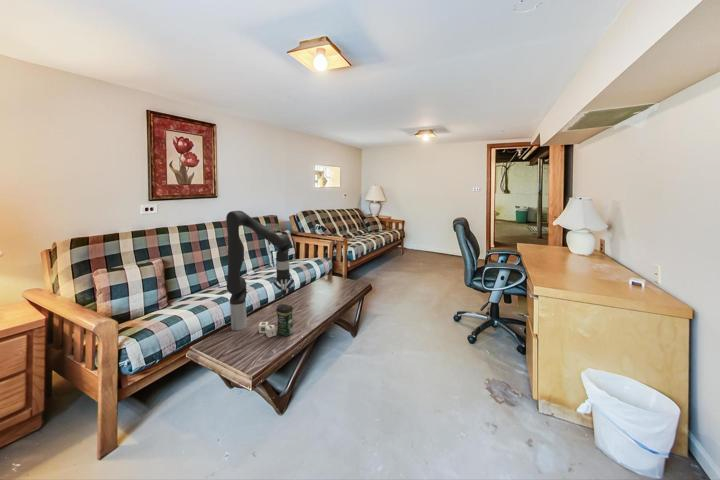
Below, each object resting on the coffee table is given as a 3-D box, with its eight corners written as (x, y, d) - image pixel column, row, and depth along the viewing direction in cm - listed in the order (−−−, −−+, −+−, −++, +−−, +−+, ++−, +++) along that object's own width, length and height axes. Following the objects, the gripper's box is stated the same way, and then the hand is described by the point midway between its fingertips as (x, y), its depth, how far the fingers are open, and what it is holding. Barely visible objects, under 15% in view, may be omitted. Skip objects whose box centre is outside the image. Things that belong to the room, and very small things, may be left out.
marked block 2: (268, 338, 174) (268, 330, 173) (265, 334, 179) (265, 326, 179) (277, 336, 177) (276, 328, 176) (273, 332, 182) (273, 324, 181)
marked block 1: (259, 333, 180) (258, 325, 179) (260, 329, 185) (260, 321, 184) (267, 332, 181) (266, 325, 180) (268, 329, 186) (268, 321, 185)
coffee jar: (275, 334, 180) (273, 305, 176) (283, 328, 186) (282, 301, 183) (287, 337, 175) (285, 308, 172) (295, 332, 182) (294, 304, 179)
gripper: (272, 270, 168) (273, 299, 171) (295, 268, 173) (296, 295, 176) (270, 267, 174) (271, 294, 177) (292, 265, 180) (293, 291, 183)
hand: (284, 295), depth 177 cm, fingers closed
